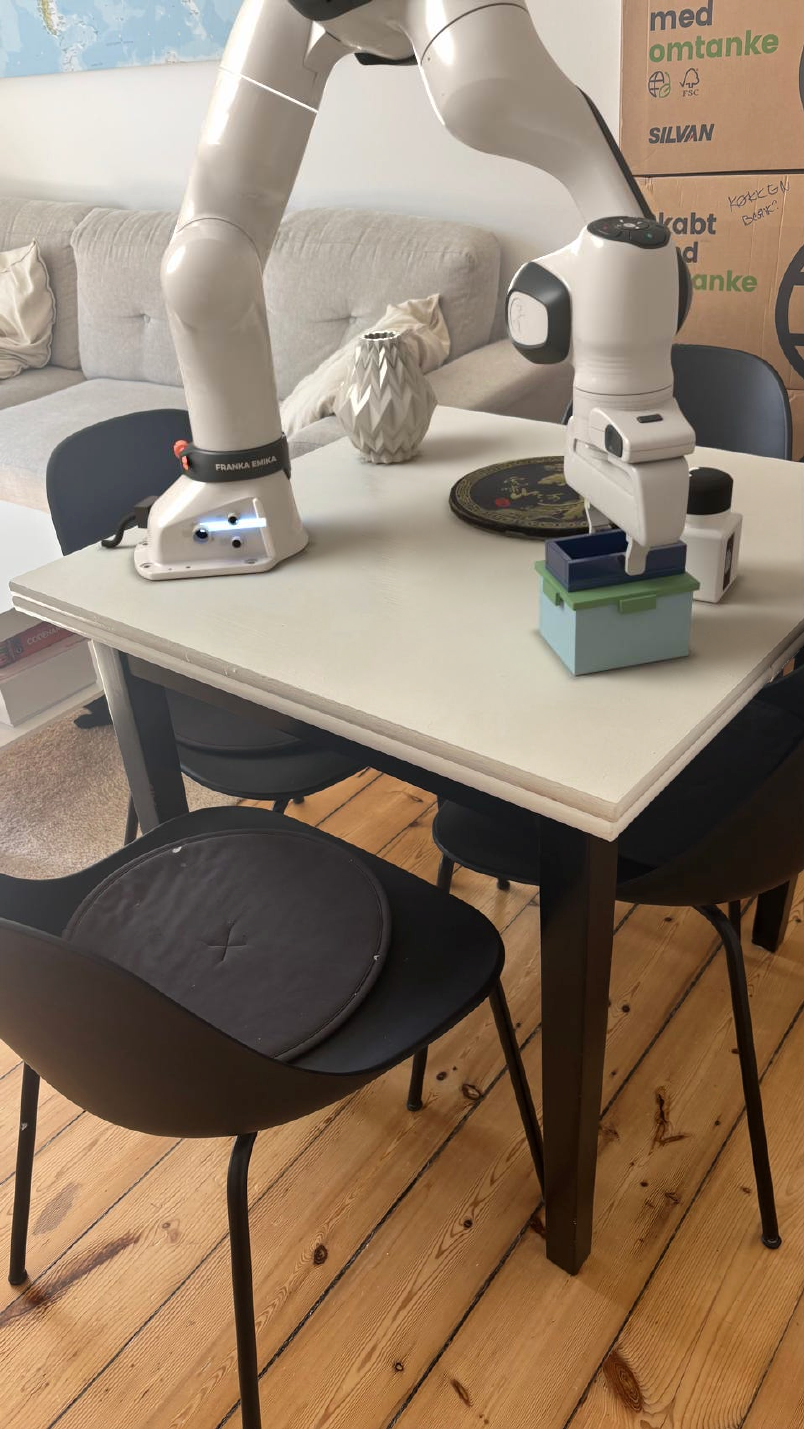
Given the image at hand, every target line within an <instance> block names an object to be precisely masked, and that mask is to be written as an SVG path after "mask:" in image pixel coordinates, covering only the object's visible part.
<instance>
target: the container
mask: <svg viewBox="0 0 804 1429" xmlns="http://www.w3.org/2000/svg"><path fill="white" fill-rule="evenodd" d="M733 488H734V478H733V477H732V476H731V475H730V474H729V473H728V472H726V471H723V470H721V469H719V468H716V467H715V468H714V467H709V466H708V467H707V466H694V467H693V466H692V467H689V492H688V503H687V513H686V520H685V527H684V531H683V533H682V535H681V537H680V538H679V539H680V540H681V541H683V542H684V543H685V544H687V553H686V566H685V571H687V572H688V573H689V574H690V575H692V576H693V577H694V578H695V579H696V580H698V581H699V582H700V590H696V591H693V601H700V602H707V603H713V604H716V603H718V602H719V601H720V599H721V598H722V597H723V596H724V594H725V593H726V591H727V590H728V589H729V587H730V586H731V585H732V583H734V581H735V579H736V578H737V576H738V566H739V565H738V564H739V558H740V557H739V556H740V546H741V538H742V537H741V536H742V527H743V519H744V518H743V516H744V515H743V514H742V513H740V512H733V511H731V509H732V501H733V500H732V499H733V490H734V489H733Z"/></svg>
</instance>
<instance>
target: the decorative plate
mask: <svg viewBox="0 0 804 1429" xmlns="http://www.w3.org/2000/svg"><path fill="white" fill-rule="evenodd" d="M584 501H585V498H584V497H582V496H581V495H580V494H579V493H578V492H576V491H575V490H574V489H573V488H571V487H570V486H569V485H568V484H567V483H566V479H565V475H564V455H545V456H533V457H524V458H518V459H512V460H511V459H510V460H507V461H501V462H498V463H493V464H490V465H487V466H484V467H483V466H482V467H481V468H480V467H479V468H478V469H475V470H472V471H471V472H469V473H466V474H465V475H463V476H462V477H460V478H458V479H457V481H456V482H455V483H454V484H453V486H452V487H451V488H450V490H449V496H448V504H449V507H450V510H451V512H452V513H453V514H454V515H455V517H457V518H458V520H459V519H460V520H461V521H462V522H464V523H466V524H467V525H469V526H472V527H473V528H477V529H480V530H481V531H485V532H488V533H493V534H497V535H500V536H506V537H511V538H519V539H527V540H541V541H545V540H550V539H556V538H563V537H569V536H576V535H582V534H589V522H588V518H587V514H586V510H585V506H584ZM608 521H609V525H610V526H611V527H612V530H615V529H621V528H620V527H618V526H617V525H616V524H615V523H614V522H612V521H611V520H610V519H609V518H608Z"/></svg>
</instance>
